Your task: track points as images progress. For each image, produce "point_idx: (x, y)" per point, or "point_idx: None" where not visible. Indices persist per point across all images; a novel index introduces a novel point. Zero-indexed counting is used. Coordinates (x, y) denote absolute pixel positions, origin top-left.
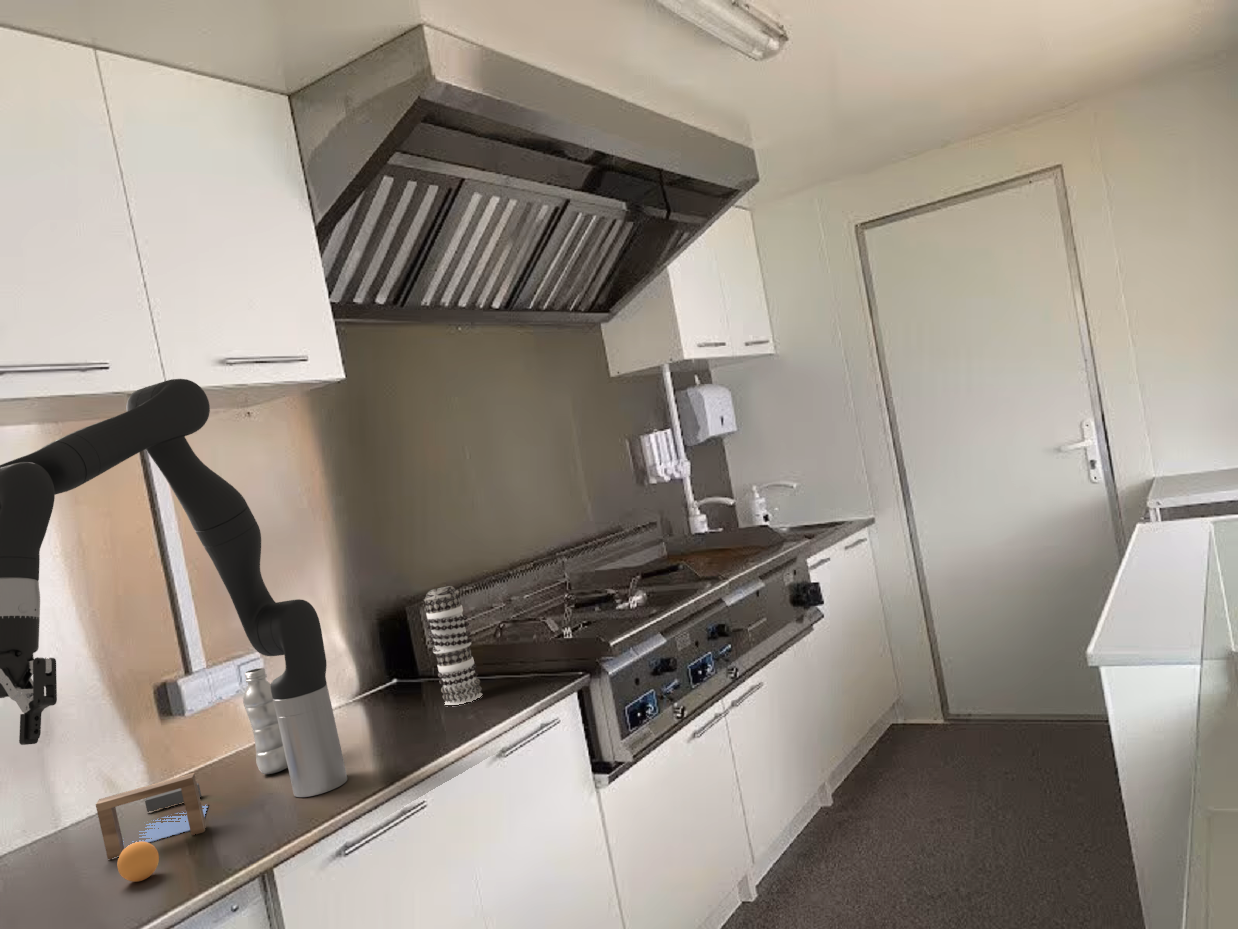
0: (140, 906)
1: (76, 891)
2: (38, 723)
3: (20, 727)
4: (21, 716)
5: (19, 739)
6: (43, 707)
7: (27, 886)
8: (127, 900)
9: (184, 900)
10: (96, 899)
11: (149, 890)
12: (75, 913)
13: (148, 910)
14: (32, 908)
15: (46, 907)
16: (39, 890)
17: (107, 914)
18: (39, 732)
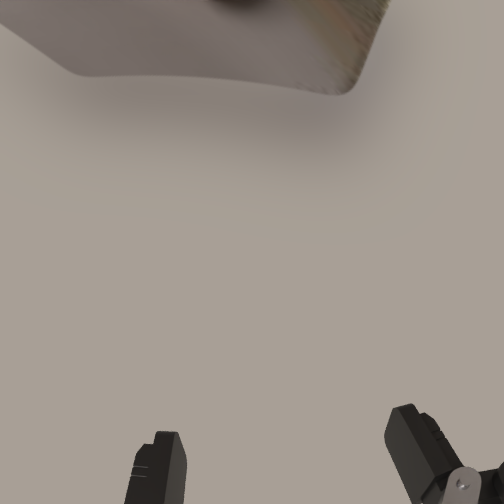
0: (294, 55)
1: (113, 6)
2: (445, 449)
3: (402, 475)
4: (415, 499)
5: (388, 449)
6: (482, 478)
7: (17, 12)
8: (250, 33)
9: (361, 57)
10: (180, 24)
11: (266, 9)
12: (181, 61)
13: (320, 71)
14: (83, 51)
15: (105, 46)
16: (45, 14)
17: (251, 69)
18: (435, 426)
